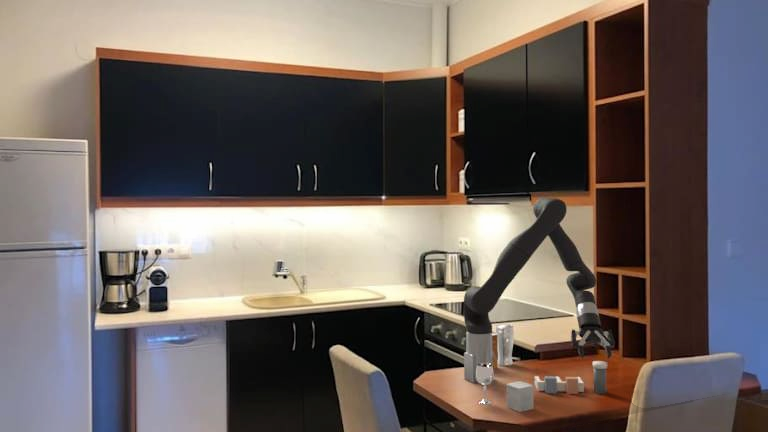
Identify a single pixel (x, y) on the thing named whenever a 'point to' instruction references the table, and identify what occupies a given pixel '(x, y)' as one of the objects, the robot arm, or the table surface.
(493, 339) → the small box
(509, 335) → the beer glass
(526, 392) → the product box
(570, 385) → the socket block
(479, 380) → the wineglass
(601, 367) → the blue white-capped bottle
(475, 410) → the table surface
